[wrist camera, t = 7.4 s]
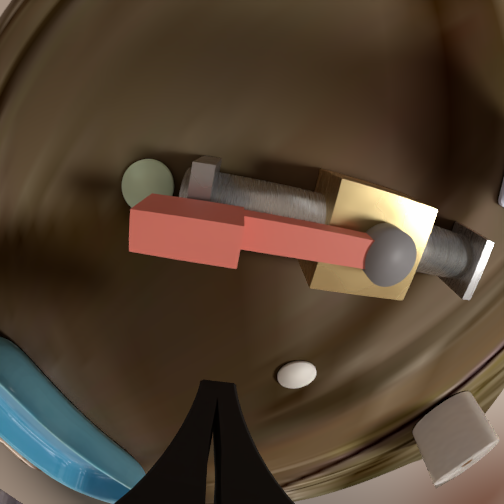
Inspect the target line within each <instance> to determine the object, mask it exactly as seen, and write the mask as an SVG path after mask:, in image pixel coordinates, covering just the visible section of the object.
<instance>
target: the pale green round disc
mask: <svg viewBox="0 0 504 504" xmlns="http://www.w3.org/2000/svg"><path fill="white" fill-rule="evenodd" d="M122 193H123V196H124V198H125V200H126V202H127V203H128V205H129V206H130V207H131V208H132V207H134V206H135V205H136V204H138V203H139V202H141V201H142V200H143V199H145V198H146V197H147V196H149V195H150V194H152V193H153V194H161V195H168V196H173V193H174V179H173V176H172V174H171V172H170V170H169V169H168V168H167V166H165V165H164V164H163V163H162V162H160V161H158V160H154V159H143V160H139V161H137V162H135V163H133V164H132V165H131V166H130V167H129V168H128V169H127V170H126V172H125V174H124V176H123V179H122Z"/></svg>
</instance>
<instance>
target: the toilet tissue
mask: <svg viewBox="0 0 504 504" xmlns="http://www.w3.org/2000/svg"><path fill="white" fill-rule="evenodd" d="M413 436H414V439H415V441H416V443H417V446H418V448H419V450H420V453H421V455H422V457H423V460H424V462H425V464H426V467H427V470H428V472H429V475H430V477H431V479H432V482H433V484H434V485H435V487H436V488H438V487H439V486H441V485H443V484H445V483H446V482H448V481H450V480H451V479H453V478H455V477H456V476H458V475H459V474H461V473H463V472H464V471H465V470H466V469H468V468H469V467H471V466H472V465H473V464H475V463H476V462H477V461H479V460H480V459H481V458H482V457H484V456H485V455H486V454H487V453H488V452H489V451H490V450H492V448H494V447H495V446H496V444H497V443H498V442H499V438H498V436H497V435H496V433H495V432H494V429H493V427H492V426H491V424H490V423H489V421H488V419H487V418H486V416H485V414H484V412H483V411H482V409H481V407H480V406H479V405H478V403H477V402H476V400H475V398H474V397H473V395H472V394H471V392H468V391H466V392H462V393H459V394H456V395H454V396H453V397H451V398H449V399H447V400H446V401H444V402H442V403H441V404H440V405H438V406H437V407H435V408H434V409H433V410H431V411H430V412H429V413H428V414H426V415H425V416H424V417H423V418H422V419H421V420H420V421H419V422H418V423H417V424H416V426H415V428H414V429H413Z"/></svg>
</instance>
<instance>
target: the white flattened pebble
mask: <svg viewBox="0 0 504 504" xmlns="http://www.w3.org/2000/svg"><path fill="white" fill-rule="evenodd" d="M315 376H316V369H315V367H314V365H313V364H312V363H310V362H307V361H293V362H290V363H288V364H286V365H284V366H283V367H282V368H281V369H280V370H279V371H278V374H277V377H278V382H279V383H280V384H281V385H282V386H284V387H287V388H300V387H303V386H306V385H307V384H309V383H310V382H312V381H313V380H314V378H315Z"/></svg>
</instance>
